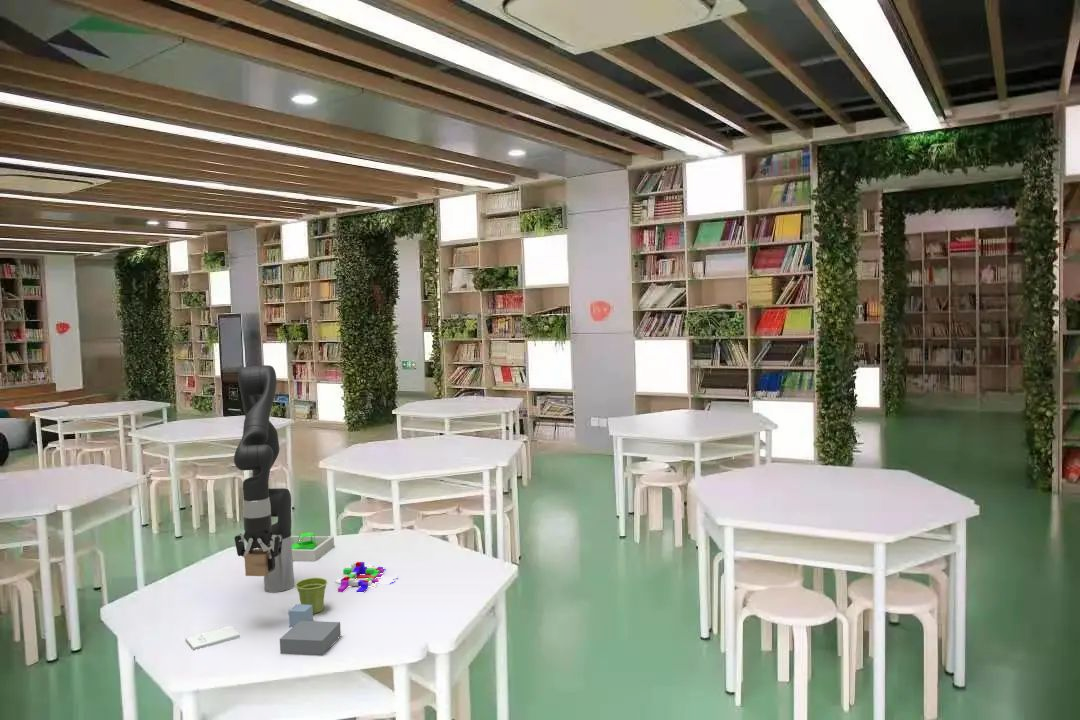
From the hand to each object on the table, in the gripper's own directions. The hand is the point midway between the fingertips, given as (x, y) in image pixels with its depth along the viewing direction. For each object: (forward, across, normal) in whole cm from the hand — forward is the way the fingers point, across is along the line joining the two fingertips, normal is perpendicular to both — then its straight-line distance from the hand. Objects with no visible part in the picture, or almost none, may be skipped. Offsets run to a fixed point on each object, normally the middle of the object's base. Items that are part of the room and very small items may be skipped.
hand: (260, 569), depth 224 cm
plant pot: (+17, -10, -12) cm, 23 cm away
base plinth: (+16, -20, +11) cm, 28 cm away
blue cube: (+17, -11, -2) cm, 20 cm away
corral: (+17, +18, -65) cm, 69 cm away
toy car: (+18, +20, -66) cm, 71 cm away
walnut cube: (+1, 0, 0) cm, 1 cm away
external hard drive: (+17, +10, +10) cm, 22 cm away
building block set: (+18, -17, -40) cm, 47 cm away
